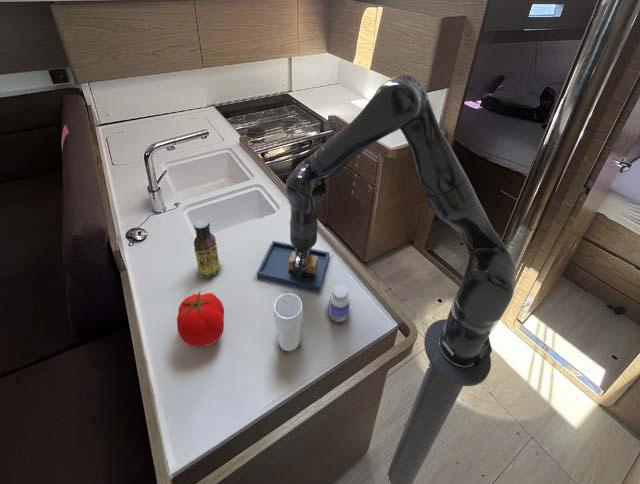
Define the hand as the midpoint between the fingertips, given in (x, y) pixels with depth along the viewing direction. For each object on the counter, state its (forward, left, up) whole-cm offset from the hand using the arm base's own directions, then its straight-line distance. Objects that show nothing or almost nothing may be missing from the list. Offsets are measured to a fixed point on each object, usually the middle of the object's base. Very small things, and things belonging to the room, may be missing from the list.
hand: (303, 269), depth 98 cm
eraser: (0, 0, 0) cm, 0 cm away
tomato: (+20, +24, -3) cm, 31 cm away
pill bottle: (-13, +9, -3) cm, 16 cm away
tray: (+4, -2, -3) cm, 5 cm away
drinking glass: (-2, +20, -3) cm, 20 cm away
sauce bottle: (+29, +6, -3) cm, 29 cm away
